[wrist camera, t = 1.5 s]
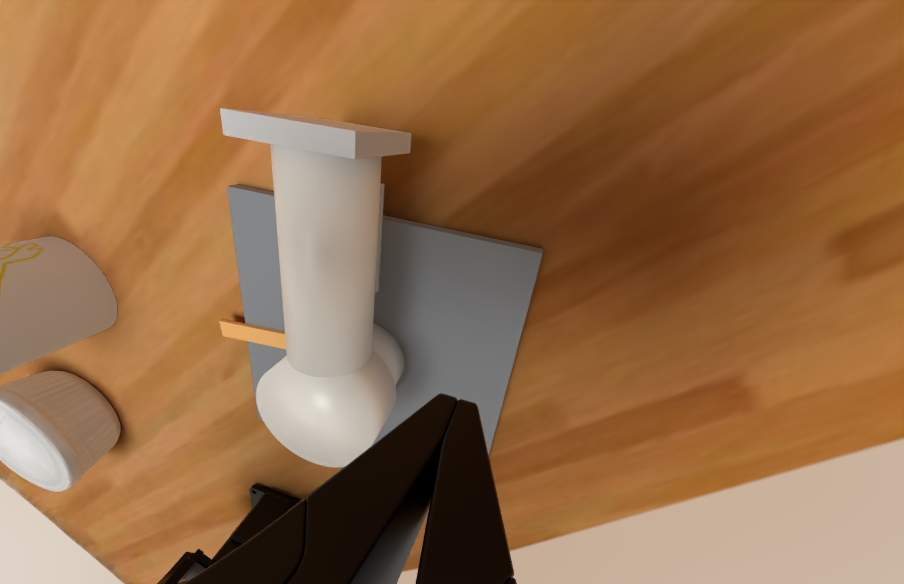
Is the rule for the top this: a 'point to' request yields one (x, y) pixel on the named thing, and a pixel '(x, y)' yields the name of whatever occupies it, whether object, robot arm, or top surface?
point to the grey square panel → (404, 306)
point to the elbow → (325, 282)
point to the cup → (49, 299)
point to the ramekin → (54, 428)
